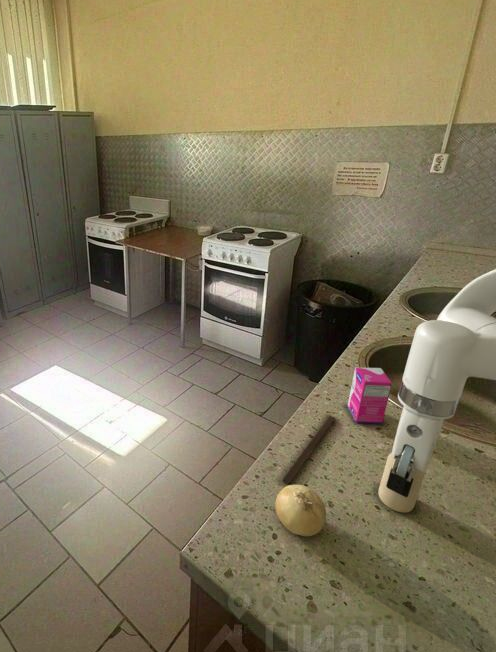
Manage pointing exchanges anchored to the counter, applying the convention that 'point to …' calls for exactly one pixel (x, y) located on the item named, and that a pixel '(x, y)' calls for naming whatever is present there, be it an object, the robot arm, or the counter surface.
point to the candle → (395, 499)
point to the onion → (300, 510)
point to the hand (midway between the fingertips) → (401, 479)
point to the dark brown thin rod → (308, 450)
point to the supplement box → (369, 395)
